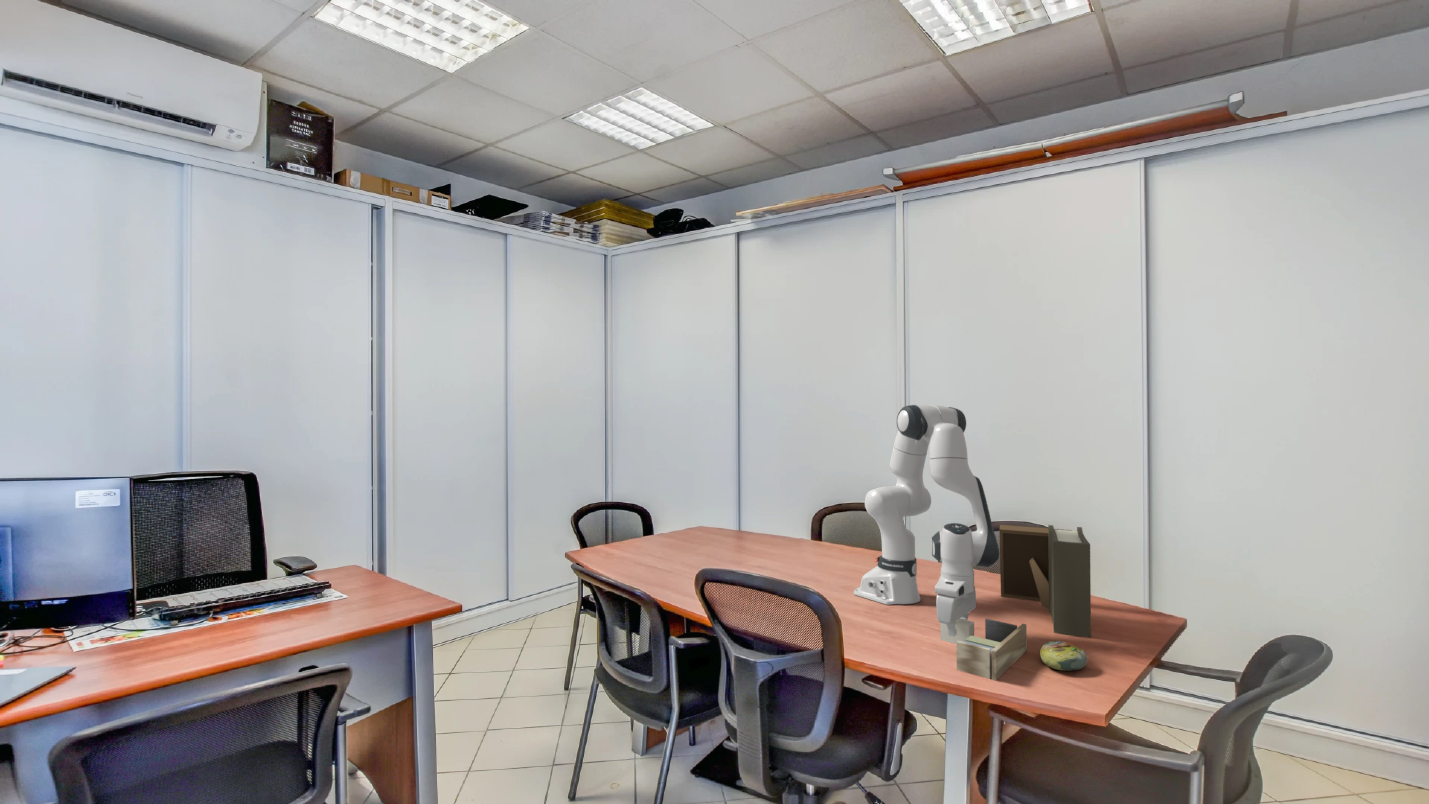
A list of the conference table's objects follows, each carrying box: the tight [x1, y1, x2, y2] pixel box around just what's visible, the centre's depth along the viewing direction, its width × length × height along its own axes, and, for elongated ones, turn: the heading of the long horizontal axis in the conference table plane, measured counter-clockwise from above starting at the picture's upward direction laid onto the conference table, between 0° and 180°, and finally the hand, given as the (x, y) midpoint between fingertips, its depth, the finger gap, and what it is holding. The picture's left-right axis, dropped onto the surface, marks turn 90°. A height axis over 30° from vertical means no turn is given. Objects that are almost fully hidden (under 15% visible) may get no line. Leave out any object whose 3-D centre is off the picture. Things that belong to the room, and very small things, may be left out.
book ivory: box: [939, 619, 975, 645], centre depth 175 cm, size 8×4×6 cm, turn 48°
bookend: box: [984, 618, 1018, 642], centre depth 172 cm, size 8×7×7 cm
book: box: [1047, 524, 1092, 638], centre depth 188 cm, size 22×9×28 cm, turn 155°
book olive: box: [965, 635, 1001, 648], centre depth 160 cm, size 8×4×6 cm, turn 48°
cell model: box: [1039, 640, 1088, 672], centre depth 159 cm, size 10×8×14 cm
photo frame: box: [998, 524, 1074, 610], centre depth 208 cm, size 15×22×25 cm
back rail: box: [955, 623, 1028, 682], centre depth 163 cm, size 10×25×7 cm, turn 138°
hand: (957, 631), depth 175 cm, fingers open, 6 cm apart
